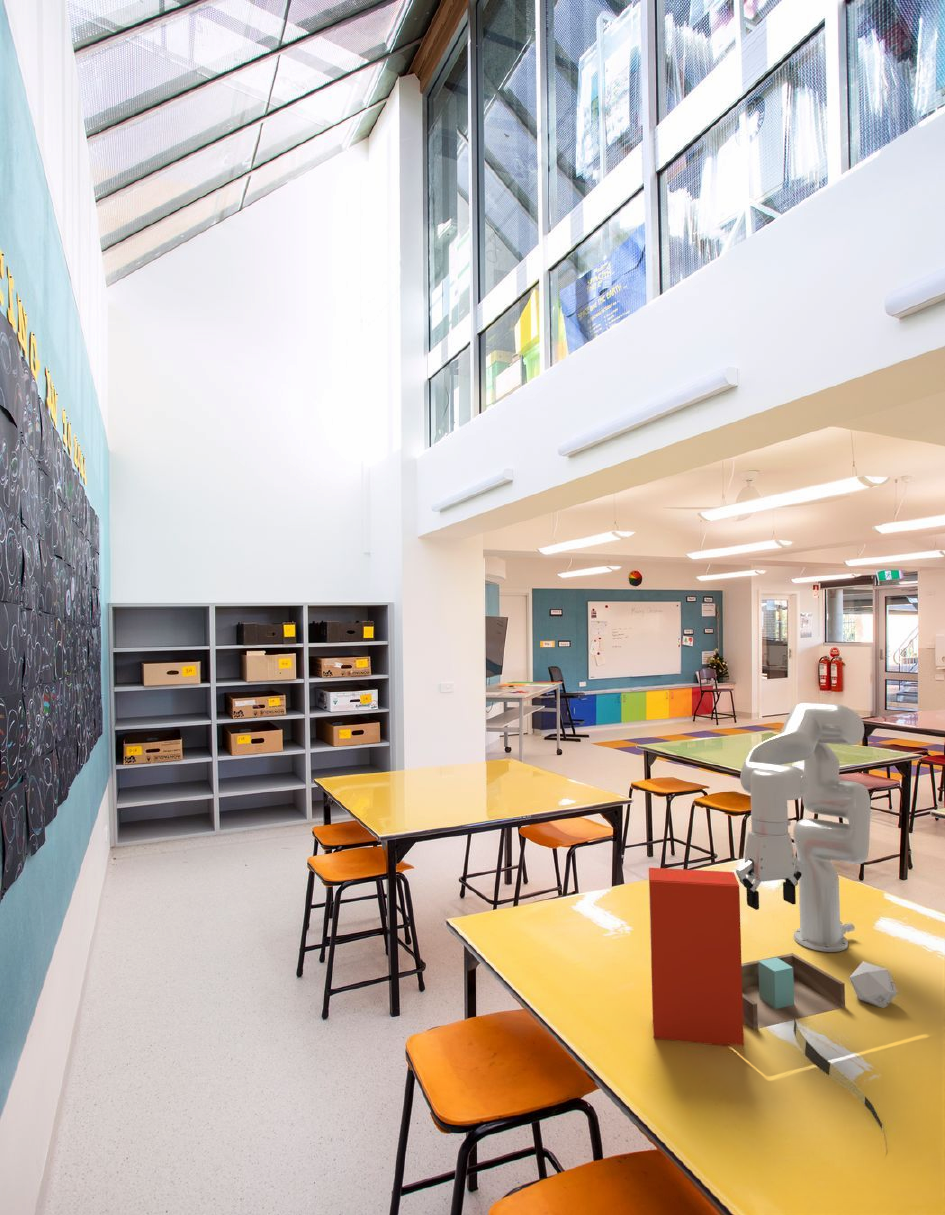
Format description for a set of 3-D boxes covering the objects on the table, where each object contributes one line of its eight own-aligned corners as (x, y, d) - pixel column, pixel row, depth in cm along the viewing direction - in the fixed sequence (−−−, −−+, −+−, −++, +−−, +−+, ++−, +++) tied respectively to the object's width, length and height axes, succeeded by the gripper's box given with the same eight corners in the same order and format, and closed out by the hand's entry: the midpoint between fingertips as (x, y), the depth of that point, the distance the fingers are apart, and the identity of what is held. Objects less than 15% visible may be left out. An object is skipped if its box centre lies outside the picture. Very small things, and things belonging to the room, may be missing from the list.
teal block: (777, 993, 158) (776, 957, 158) (794, 1004, 153) (793, 967, 153) (759, 997, 156) (758, 961, 157) (775, 1009, 152) (774, 971, 152)
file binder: (744, 1049, 139) (739, 885, 140) (653, 1039, 143) (649, 880, 143) (737, 1026, 147) (733, 871, 147) (652, 1017, 150) (648, 866, 151)
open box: (793, 977, 166) (792, 953, 166) (845, 1009, 152) (844, 983, 152) (707, 996, 159) (707, 970, 159) (754, 1032, 144) (753, 1004, 144)
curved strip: (820, 1038, 143) (820, 1019, 143) (919, 1189, 105) (919, 1163, 105) (789, 1035, 144) (789, 1016, 144) (876, 1185, 106) (876, 1159, 106)
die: (868, 1018, 150) (898, 986, 148) (835, 982, 156) (863, 951, 155) (882, 1018, 154) (912, 987, 153) (850, 984, 161) (877, 953, 159)
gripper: (789, 819, 163) (791, 894, 162) (725, 825, 158) (727, 903, 157) (813, 827, 155) (816, 906, 155) (748, 834, 150) (749, 916, 150)
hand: (771, 904), depth 156 cm, fingers open, 9 cm apart
